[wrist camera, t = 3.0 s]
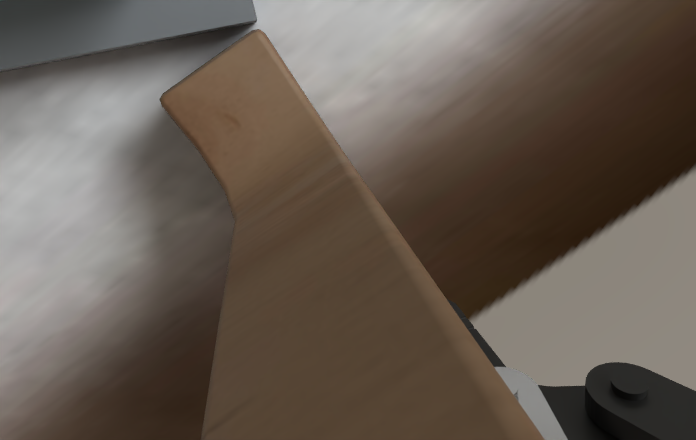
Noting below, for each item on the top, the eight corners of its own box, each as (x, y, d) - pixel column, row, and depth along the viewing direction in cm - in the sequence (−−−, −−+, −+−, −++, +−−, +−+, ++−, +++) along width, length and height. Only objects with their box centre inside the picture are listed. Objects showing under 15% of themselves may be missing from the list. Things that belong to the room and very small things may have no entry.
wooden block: (363, 185, 17) (748, 748, 4) (293, 232, 18) (401, 931, 4) (260, 27, 15) (215, -112, 1) (179, 85, 15) (-807, 643, 1)
